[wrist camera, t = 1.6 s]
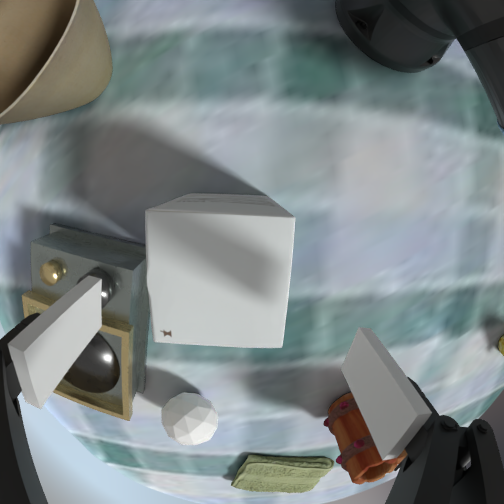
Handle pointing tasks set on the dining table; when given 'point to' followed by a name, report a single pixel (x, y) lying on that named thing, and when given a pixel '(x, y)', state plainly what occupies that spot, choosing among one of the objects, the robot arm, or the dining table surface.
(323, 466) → the washcloth
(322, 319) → the dining table surface
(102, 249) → the grey and gold block
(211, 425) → the geometric ball
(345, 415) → the mug
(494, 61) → the robot arm
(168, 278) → the supplement box
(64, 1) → the plant pot
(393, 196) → the dining table surface
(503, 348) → the chocolate bunny
